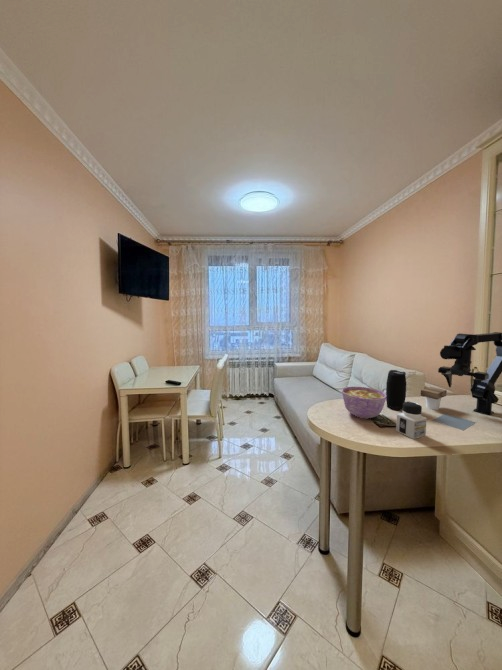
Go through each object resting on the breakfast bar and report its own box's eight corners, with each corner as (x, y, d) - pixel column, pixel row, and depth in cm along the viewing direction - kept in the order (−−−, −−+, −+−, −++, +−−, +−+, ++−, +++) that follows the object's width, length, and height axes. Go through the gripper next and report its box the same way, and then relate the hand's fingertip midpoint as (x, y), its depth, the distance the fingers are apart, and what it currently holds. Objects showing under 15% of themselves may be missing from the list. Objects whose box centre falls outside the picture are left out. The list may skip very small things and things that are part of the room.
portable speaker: (408, 408, 132) (410, 372, 130) (397, 412, 128) (400, 374, 126) (392, 403, 140) (394, 369, 138) (381, 406, 135) (383, 370, 133)
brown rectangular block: (430, 392, 138) (430, 386, 138) (446, 395, 132) (446, 390, 132) (420, 395, 132) (420, 389, 132) (436, 399, 126) (437, 393, 126)
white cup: (435, 406, 136) (436, 393, 135) (443, 411, 129) (444, 398, 129) (421, 405, 137) (422, 393, 136) (429, 410, 130) (430, 397, 129)
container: (413, 439, 100) (415, 407, 99) (395, 431, 107) (397, 401, 106) (426, 435, 103) (428, 405, 102) (407, 428, 110) (409, 399, 109)
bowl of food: (360, 405, 137) (361, 384, 136) (395, 419, 119) (396, 395, 118) (332, 411, 128) (332, 389, 127) (365, 427, 110) (366, 401, 109)
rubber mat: (445, 414, 125) (445, 413, 125) (476, 423, 115) (476, 422, 115) (431, 421, 117) (431, 420, 117) (463, 431, 107) (463, 430, 107)
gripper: (434, 357, 129) (432, 387, 130) (481, 363, 113) (479, 397, 114) (443, 355, 134) (442, 384, 136) (490, 361, 119) (487, 393, 120)
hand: (461, 389), depth 126 cm, fingers open, 9 cm apart
